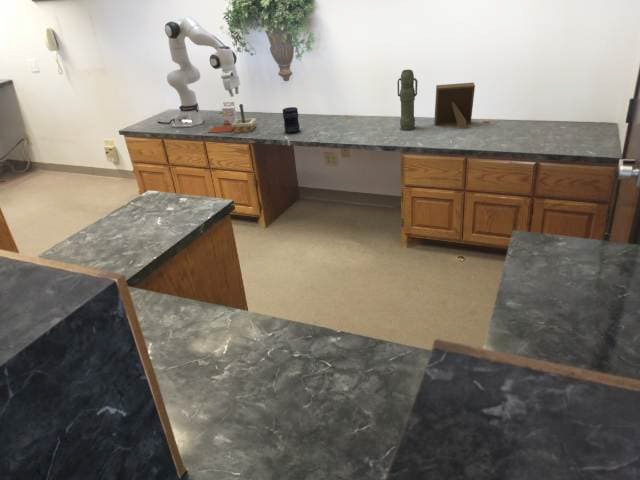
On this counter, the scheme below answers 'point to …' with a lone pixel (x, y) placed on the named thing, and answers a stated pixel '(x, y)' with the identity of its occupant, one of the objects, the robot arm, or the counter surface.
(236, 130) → the stand
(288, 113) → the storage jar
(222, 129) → the mat
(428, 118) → the counter surface
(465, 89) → the photo frame
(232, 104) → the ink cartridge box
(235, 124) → the loop
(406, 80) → the thermos
